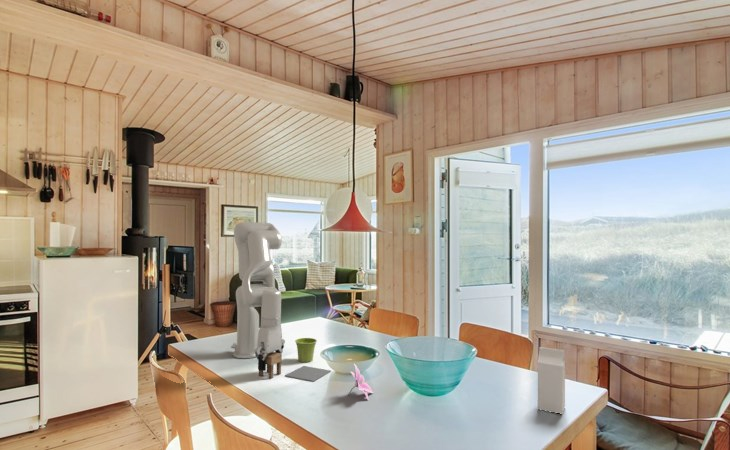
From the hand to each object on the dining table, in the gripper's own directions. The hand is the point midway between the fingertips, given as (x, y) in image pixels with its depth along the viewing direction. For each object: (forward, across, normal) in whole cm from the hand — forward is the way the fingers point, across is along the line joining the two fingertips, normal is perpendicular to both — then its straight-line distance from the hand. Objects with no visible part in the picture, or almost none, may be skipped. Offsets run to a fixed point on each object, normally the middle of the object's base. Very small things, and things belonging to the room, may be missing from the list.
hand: (270, 366), depth 156 cm
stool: (+3, 0, 0) cm, 3 cm away
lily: (+4, +3, +40) cm, 40 cm away
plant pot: (+3, -22, +2) cm, 22 cm away
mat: (+3, -8, +12) cm, 15 cm away
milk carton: (+3, -16, +99) cm, 100 cm away
